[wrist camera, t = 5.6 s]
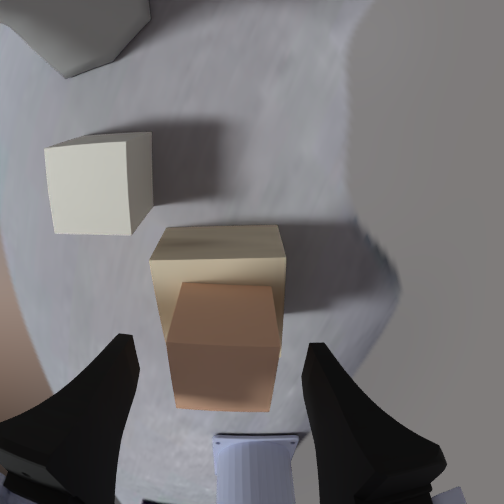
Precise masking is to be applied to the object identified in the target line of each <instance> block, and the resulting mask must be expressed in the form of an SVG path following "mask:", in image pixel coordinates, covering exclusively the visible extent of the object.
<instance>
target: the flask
mask: <svg viewBox="0 0 504 504" xmlns="http://www.w3.org/2000/svg"><path fill="white" fill-rule="evenodd" d="M150 20H151V15H150V7H149V0H0V23H2V24H4V25H6V26H8V27H10V28H11V29H12V30H13V31H14V32H15V33H16V34H18V35H19V36H20V37H21V39H22V40H23V41H24V42H25V43H26V44H27V45H28V46H29V47H30V48H31V49H32V50H33V51H34V52H35V53H36V54H38V55H39V56H40V57H41V58H42V59H43V60H44V61H46V62H47V63H48V64H49V65H50V66H51V67H52V68H54V69H55V70H56V71H57V72H58V73H59V74H60V75H62V76H63V77H64V78H65V79H68V78H70V77H72V76H75V75H77V74H80V73H82V72H85V71H88V70H90V69H93V68H96V67H99V66H101V65H104V64H107V63H110V62H113V60H114V59H115V58H116V57H117V56H118V55H119V53H120V52H121V51H122V50H123V49H124V48H125V47H126V45H127V44H128V43H129V42H130V41H131V40H132V39H133V38H134V37H135V36H136V35H137V33H138V32H139V31H140V30H141V29H142V28H143V27H144V26H145V25H146V24H147V23H148V22H149V21H150Z"/></svg>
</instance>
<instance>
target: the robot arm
mask: <svg viewBox="0 0 504 504" xmlns="http://www.w3.org/2000/svg"><path fill="white" fill-rule="evenodd" d="M139 372H140V367H139V363H138V358H137V354H136V350H135V345H134V340H133V336H132V335H128V334H118V335H117V336H116V337H115V338H114V339H113V340H112V341H111V342H110V343H109V344H108V345H107V346H106V347H105V349H104V350H103V351H102V352H101V353H100V354H99V355H98V356H97V357H96V358H95V359H94V360H93V361H92V362H91V363H90V364H89V365H88V366H87V367H86V368H85V369H84V370H83V371H82V372H81V373H80V374H79V375H78V376H77V377H75V378H74V379H73V380H72V381H71V382H70V383H69V384H67V385H66V386H65V387H64V388H62V389H61V390H60V391H58V392H57V393H56V394H54V395H53V396H51V397H50V398H49V399H47V400H45V401H44V402H42V403H41V404H39V405H37V406H35V407H34V408H32V409H30V410H28V411H26V412H24V413H22V414H20V415H18V416H15V417H13V418H10V419H8V420H6V421H3V422H0V464H1V465H2V466H3V467H4V468H5V469H6V470H7V471H8V474H7V476H4V475H3V474H1V473H0V504H114V500H115V483H116V472H117V464H118V456H119V450H120V444H121V439H122V435H123V431H124V427H125V424H126V421H127V418H128V414H129V411H130V408H131V405H132V402H133V399H134V395H135V392H136V388H137V383H138V378H139ZM301 377H302V387H303V396H304V401H305V405H306V410H307V414H308V418H309V422H310V426H311V430H312V435H313V439H314V443H315V449H316V457H317V466H318V479H319V495H320V504H467V503H466V501H465V498H464V495H463V493H462V490H461V487H459V486H458V487H456V488H453V489H451V490H448V491H446V492H443V493H440V494H438V495H436V496H434V497H432V498H431V496H430V493H429V492H431V491H432V486H431V484H430V483H431V482H432V481H433V480H434V479H435V478H437V477H438V476H439V475H440V474H441V473H442V472H443V471H444V470H445V468H446V466H447V463H446V460H445V457H444V455H443V452H442V450H441V448H440V446H439V445H437V444H435V443H433V442H431V441H429V440H427V439H425V438H423V437H421V436H419V435H418V434H416V433H414V432H413V431H411V430H409V429H408V428H406V427H405V426H403V425H402V424H400V423H399V422H397V421H396V420H395V419H393V418H392V417H391V416H389V415H388V414H387V413H385V412H384V411H383V410H382V409H381V408H379V407H378V406H377V405H376V404H375V403H374V402H373V401H372V400H371V399H370V398H369V397H368V396H367V395H366V394H365V393H364V392H363V391H362V390H361V389H360V388H359V387H358V385H357V384H356V383H355V382H354V381H353V380H352V378H351V377H350V376H349V375H348V374H347V372H346V371H345V370H344V369H343V367H342V366H341V365H340V363H339V362H338V361H337V359H336V358H335V357H334V355H333V354H332V353H331V351H330V350H329V348H328V347H327V346H326V344H325V343H309V347H308V351H307V356H306V360H305V364H304V368H303V372H302V376H301ZM298 441H299V436H297V435H281V436H230V435H215V436H213V452H214V466H215V475H217V498H216V504H296V502H295V494H294V486H293V477H292V469H291V460H292V457H293V455H294V452H295V449H296V447H297V444H298Z"/></svg>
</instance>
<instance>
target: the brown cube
mask: <svg viewBox="0 0 504 504" xmlns="http://www.w3.org/2000/svg"><path fill="white" fill-rule="evenodd" d="M166 345H167V353H168V360H169V366H170V373H171V379H172V385H173V391H174V397H175V403H176V408H182V409H194V410H209V411H232V412H269V410H270V405H271V400H272V394H273V389H274V383H275V377H276V372H277V366H278V360H279V354H280V348H281V345H280V339H279V332H278V326H277V319H276V313H275V306H274V300H273V293H272V287H271V286H252V285H227V284H205V283H186V282H182V285H181V289H180V292H179V296H178V299H177V303H176V307H175V310H174V314H173V318H172V321H171V325H170V329H169V332H168V336H167V340H166Z"/></svg>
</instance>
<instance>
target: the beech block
mask: <svg viewBox="0 0 504 504" xmlns="http://www.w3.org/2000/svg"><path fill="white" fill-rule="evenodd" d="M149 263H150V269H151V274H152V280H153V285H154V290H155V295H156V300H157V305H158V310H159V315H160V320H161V324H162V329H163V333H164V338H165V342H166V340H167V336H168V332H169V329H170V325H171V321H172V318H173V314H174V310H175V307H176V303H177V299H178V296H179V292H180V289H181V285H182V282H186V283H205V284H227V285H252V286H271V287H272V293H273V300H274V306H275V313H276V319H277V326H278V332H279V339H280V345H281V346H282V331H283V314H284V296H285V276H286V254H285V251H284V247H283V243H282V240H281V236H280V233H279V229H278V226H277V225H241V226H204V227H174V228H166V229H165V231H164V233H163V235H162V237H161V239H160V241H159V242H158V244H157V246H156V248H155V250H154V252H153V254H152V256H151V258H150V260H149ZM166 346H167V345H166ZM279 357H281V348H280V354H279Z"/></svg>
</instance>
